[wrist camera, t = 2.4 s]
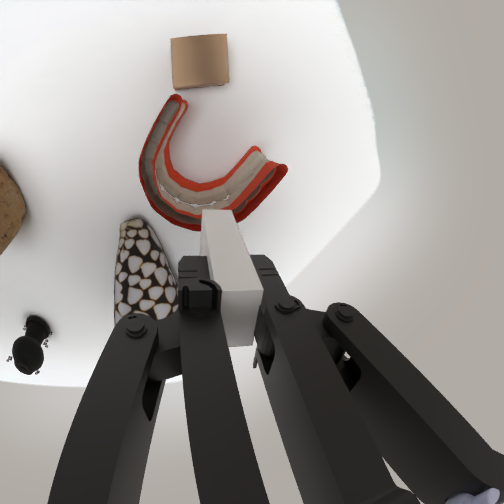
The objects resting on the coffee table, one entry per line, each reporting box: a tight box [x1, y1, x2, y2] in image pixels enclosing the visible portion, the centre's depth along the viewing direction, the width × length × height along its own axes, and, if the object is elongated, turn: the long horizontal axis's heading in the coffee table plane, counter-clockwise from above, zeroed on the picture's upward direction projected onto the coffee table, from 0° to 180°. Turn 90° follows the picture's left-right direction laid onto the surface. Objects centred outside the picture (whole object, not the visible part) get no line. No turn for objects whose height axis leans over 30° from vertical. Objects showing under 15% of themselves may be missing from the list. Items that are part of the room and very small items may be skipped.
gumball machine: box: [7, 316, 52, 375], centre depth 30 cm, size 7×6×10 cm
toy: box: [139, 94, 288, 231], centre depth 26 cm, size 12×10×8 cm
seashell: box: [114, 219, 178, 325], centre depth 31 cm, size 16×13×10 cm
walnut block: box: [171, 34, 229, 90], centre depth 21 cm, size 5×5×5 cm
